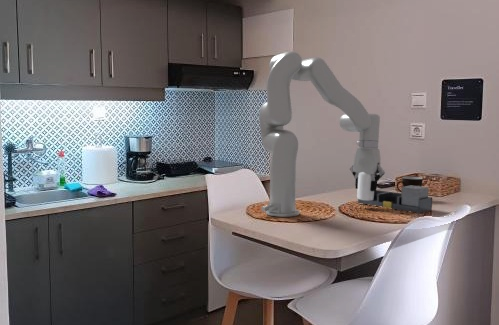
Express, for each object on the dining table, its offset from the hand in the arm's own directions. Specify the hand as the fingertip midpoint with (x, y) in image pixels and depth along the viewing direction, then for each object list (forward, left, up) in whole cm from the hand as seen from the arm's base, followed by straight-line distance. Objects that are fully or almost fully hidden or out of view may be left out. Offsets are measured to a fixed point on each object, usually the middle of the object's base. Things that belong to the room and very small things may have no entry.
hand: (365, 189), depth 199 cm
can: (0, 0, -4) cm, 4 cm away
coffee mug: (+30, -2, -8) cm, 31 cm away
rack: (+11, -6, -8) cm, 15 cm away
